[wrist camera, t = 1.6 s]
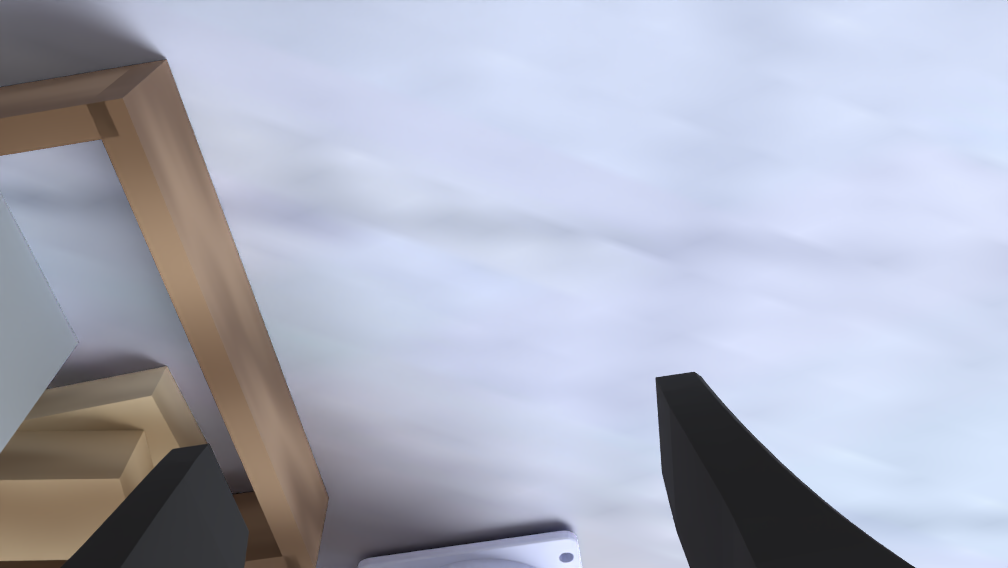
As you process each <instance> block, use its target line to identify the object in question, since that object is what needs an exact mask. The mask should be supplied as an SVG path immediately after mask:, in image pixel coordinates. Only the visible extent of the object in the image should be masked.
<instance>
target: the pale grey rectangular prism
mask: <svg viewBox="0 0 1008 568" xmlns="http://www.w3.org/2000/svg"><path fill="white" fill-rule="evenodd" d="M78 343H79V341H78V339H77V338H76V336H75V334H74V332H73V330H72V328H71V326H70V324H69V322H68V320H67V318H66V316H65V314H64V313H63V311H62V309H61V307H60V305H59V303H58V301H57V299H56V297H55V295H54V293H53V291H52V290H51V288H50V286H49V284H48V282H47V280H46V278H45V276H44V274H43V272H42V270H41V268H40V267H39V265H38V263H37V261H36V259H35V257H34V255H33V253H32V251H31V249H30V247H29V245H28V244H27V242H26V240H25V238H24V236H23V234H22V232H21V230H20V228H19V226H18V224H17V222H16V221H15V219H14V217H13V215H12V213H11V211H10V209H9V207H8V205H7V203H6V201H5V199H4V197H3V196H2V194H1V192H0V453H1V451H2V450H3V449H4V447H5V446H6V444H7V443H8V442H9V440H10V439H11V437H12V436H13V435H14V433H15V432H16V430H17V429H18V428H19V426H20V425H21V423H22V422H23V420H24V419H25V418H26V416H27V415H28V413H29V412H30V411H31V409H32V408H33V406H34V405H35V404H36V402H37V401H38V399H39V398H40V397H41V395H42V394H43V392H44V391H45V389H46V388H47V387H48V385H49V384H50V382H51V381H52V380H53V378H54V377H55V375H56V374H57V373H58V371H59V370H60V368H61V367H62V365H63V364H64V363H65V361H66V360H67V358H68V357H69V356H70V354H71V353H72V351H73V350H74V349H75V347H76V346H77V344H78Z"/></svg>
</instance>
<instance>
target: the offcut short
mask: <svg viewBox="0 0 1008 568" xmlns="http://www.w3.org/2000/svg"><path fill="white" fill-rule="evenodd" d="M153 468H154V467H153V463H152V459H151V455H150V451H149V448H148V444H147V440H146V436H145V432H144V430H108V431H16V432H15V433H14V435H13V436H12V437H11V439H10V440H9V442H8V443H7V444H6V446H5V447H4V449H3V450H2V451H1V453H0V561H28V560H68V559H69V558H70V557H71V556H72V555H73V554H74V553H75V552H76V551H77V550H78V549H79V548H80V547H81V546H82V545H83V544H84V543H85V542H86V541H87V540H88V539H89V538H90V536H91V535H92V534H93V533H94V532H95V531H96V530H97V529H98V528H99V527H100V526H101V525H102V524H103V522H104V521H105V520H106V519H107V518H108V517H109V516H110V515H111V514H112V513H113V512H114V511H115V510H116V508H117V507H118V506H119V505H120V504H121V503H122V502H123V501H124V500H125V499H126V498H127V496H128V495H129V494H130V493H131V492H132V491H133V490H134V489H135V488H136V487H137V485H138V484H139V483H140V482H141V481H142V480H143V479H144V478H145V477H146V476H147V475H148V473H149V472H150V471H151V470H152V469H153Z"/></svg>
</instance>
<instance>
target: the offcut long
mask: <svg viewBox="0 0 1008 568" xmlns="http://www.w3.org/2000/svg"><path fill="white" fill-rule="evenodd" d="M108 430H144V432H145V436H146V440H147V444H148V448H149V451H150V455H151V459H152V463H153V467H155V466H156V465H157V464H158V463H159V462H160V461H161V460H162V459H163V458H164V457H165V456H166V455H167V454H168V453H169V452H170V451H171V450H172V449H175V448H182V447H189V446H196V445H202V444H207V442H206V440H205V438H204V436H203V434H202V432H201V430H200V428H199V427H198V425H197V423H196V421H195V419H194V417H193V415H192V413H191V411H190V409H189V407H188V405H187V404H186V402H185V400H184V398H183V396H182V394H181V392H180V390H179V388H178V386H177V384H176V382H175V381H174V379H173V377H172V375H171V373H170V371H169V369H168V367H167V366H165V367H160V368H154V369H149V370H144V371H139V372H134V373H129V374H123V375H118V376H113V377H108V378H103V379H97V380H92V381H87V382H82V383H77V384H72V385H66V386H61V387H56V388H51V389H46V390H45V391H44V392H43V394H42V395H41V397H40V398H39V399H38V401H37V402H36V404H35V405H34V406H33V408H32V409H31V411H30V412H29V413H28V415H27V416H26V418H25V419H24V420H23V422H22V423H21V425H20V426H19V428H18V429H17V430H16V431H108Z"/></svg>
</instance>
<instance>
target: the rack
mask: <svg viewBox="0 0 1008 568" xmlns="http://www.w3.org/2000/svg"><path fill="white" fill-rule="evenodd" d="M100 139H102V141H103V144H104V146H105V148H106V151H107V153H108V155H109V158H110V160H111V162H112V165H113V167H114V169H115V171H116V174H117V176H118V178H119V181H120V183H121V185H122V188H123V190H124V192H125V194H126V197H127V199H128V201H129V204H130V206H131V208H132V211H133V213H134V215H135V218H136V220H137V222H138V224H139V227H140V229H141V231H142V234H143V236H144V238H145V241H146V243H147V245H148V247H149V250H150V252H151V254H152V257H153V259H154V261H155V264H156V266H157V268H158V271H159V273H160V275H161V277H162V280H163V282H164V284H165V287H166V289H167V291H168V294H169V296H170V298H171V300H172V303H173V305H174V307H175V310H176V312H177V314H178V317H179V319H180V321H181V324H182V326H183V328H184V330H185V333H186V335H187V337H188V340H189V342H190V344H191V347H192V349H193V351H194V353H195V356H196V358H197V360H198V363H199V365H200V367H201V370H202V372H203V374H204V377H205V379H206V381H207V383H208V386H209V388H210V390H211V393H212V395H213V397H214V400H215V402H216V404H217V406H218V409H219V411H220V413H221V416H222V418H223V420H224V423H225V425H226V427H227V429H228V432H229V434H230V436H231V439H232V441H233V443H234V446H235V448H236V450H237V453H238V455H239V457H240V459H241V462H242V464H243V466H244V469H245V471H246V473H247V476H248V478H249V480H250V482H251V485H252V487H253V489H254V492H247V493H240V494H233V497H234V500H235V502H236V504H237V506H238V508H239V511H240V513H241V515H242V517H243V519H244V521H245V524H246V526H247V528H248V530H249V536H248V543H247V551H246V559H245V566H244V568H316V563H317V558H318V553H319V548H320V542H321V537H322V532H323V527H324V521H325V516H326V511H327V505H328V500H329V497H328V495H327V492H326V489H325V487H324V484H323V481H322V478H321V476H320V473H319V470H318V468H317V465H316V462H315V459H314V457H313V454H312V451H311V449H310V446H309V443H308V441H307V438H306V435H305V432H304V430H303V427H302V424H301V422H300V419H299V416H298V413H297V411H296V408H295V405H294V403H293V400H292V397H291V395H290V392H289V389H288V386H287V384H286V381H285V378H284V376H283V373H282V370H281V367H280V365H279V362H278V359H277V357H276V354H275V351H274V349H273V346H272V343H271V340H270V338H269V335H268V332H267V330H266V327H265V324H264V321H263V319H262V316H261V313H260V311H259V308H258V305H257V303H256V300H255V297H254V294H253V292H252V289H251V286H250V284H249V281H248V278H247V275H246V273H245V270H244V267H243V265H242V262H241V259H240V257H239V254H238V251H237V248H236V246H235V243H234V240H233V238H232V235H231V232H230V229H229V227H228V224H227V221H226V219H225V216H224V213H223V211H222V208H221V205H220V202H219V200H218V197H217V194H216V192H215V189H214V186H213V183H212V181H211V178H210V175H209V173H208V170H207V167H206V165H205V162H204V159H203V156H202V154H201V151H200V148H199V146H198V143H197V140H196V137H195V135H194V132H193V129H192V127H191V124H190V121H189V119H188V116H187V113H186V110H185V108H184V105H183V102H182V100H181V97H180V94H179V91H178V89H177V86H176V83H175V81H174V78H173V75H172V73H171V70H170V67H169V64H168V62H167V59H166V60H160V61H154V62H148V63H142V64H136V65H130V66H124V67H118V68H112V69H106V70H100V71H94V72H89V73H83V74H77V75H71V76H65V77H59V78H53V79H47V80H41V81H35V82H29V83H23V84H17V85H11V86H5V87H0V156H2V155H8V154H15V153H21V152H27V151H33V150H39V149H45V148H51V147H57V146H63V145H69V144H76V143H82V142H88V141H94V140H100ZM66 561H67V560H28V561H0V568H60V567H61V566H62V565H63V564H64V563H65V562H66Z"/></svg>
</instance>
